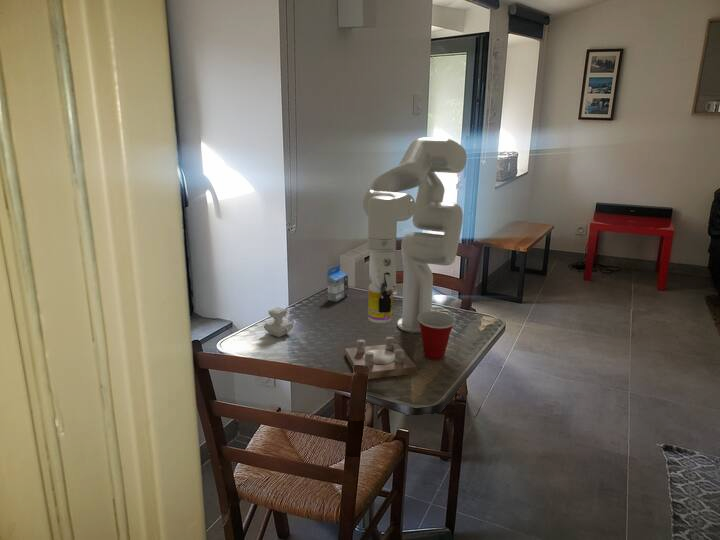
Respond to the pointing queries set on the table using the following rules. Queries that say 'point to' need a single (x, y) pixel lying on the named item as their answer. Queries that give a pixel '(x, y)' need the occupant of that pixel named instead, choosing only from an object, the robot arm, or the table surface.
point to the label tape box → (337, 284)
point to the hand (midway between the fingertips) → (380, 306)
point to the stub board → (381, 359)
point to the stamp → (278, 323)
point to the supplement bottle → (377, 305)
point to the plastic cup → (435, 333)
